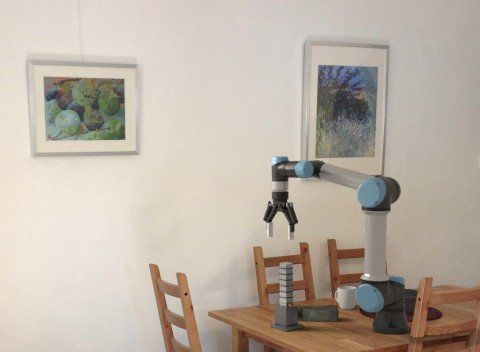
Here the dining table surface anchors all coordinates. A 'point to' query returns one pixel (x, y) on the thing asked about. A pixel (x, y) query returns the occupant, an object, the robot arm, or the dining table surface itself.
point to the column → (286, 284)
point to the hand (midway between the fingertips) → (280, 238)
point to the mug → (346, 297)
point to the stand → (286, 318)
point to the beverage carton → (318, 313)
